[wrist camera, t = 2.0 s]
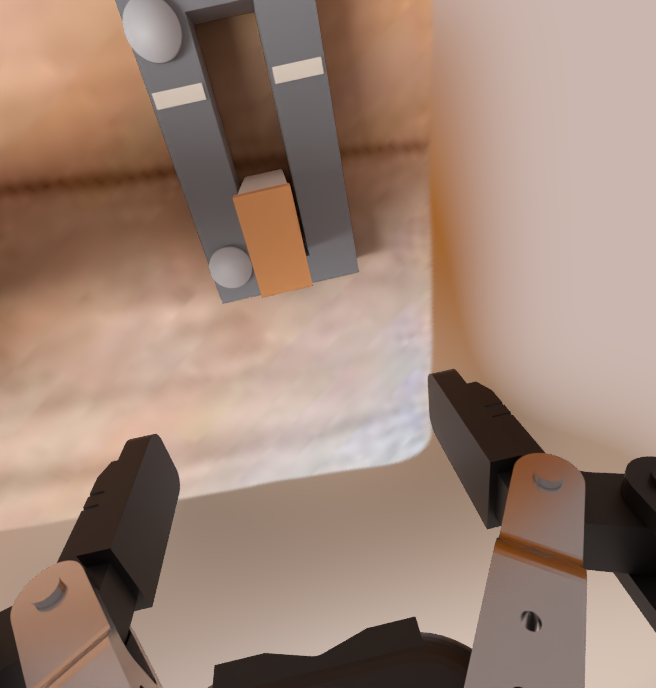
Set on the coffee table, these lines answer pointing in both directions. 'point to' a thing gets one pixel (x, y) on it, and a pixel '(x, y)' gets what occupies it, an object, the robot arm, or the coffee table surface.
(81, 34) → the coffee table surface
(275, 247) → the fader tab
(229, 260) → the console
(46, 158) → the coffee table surface
